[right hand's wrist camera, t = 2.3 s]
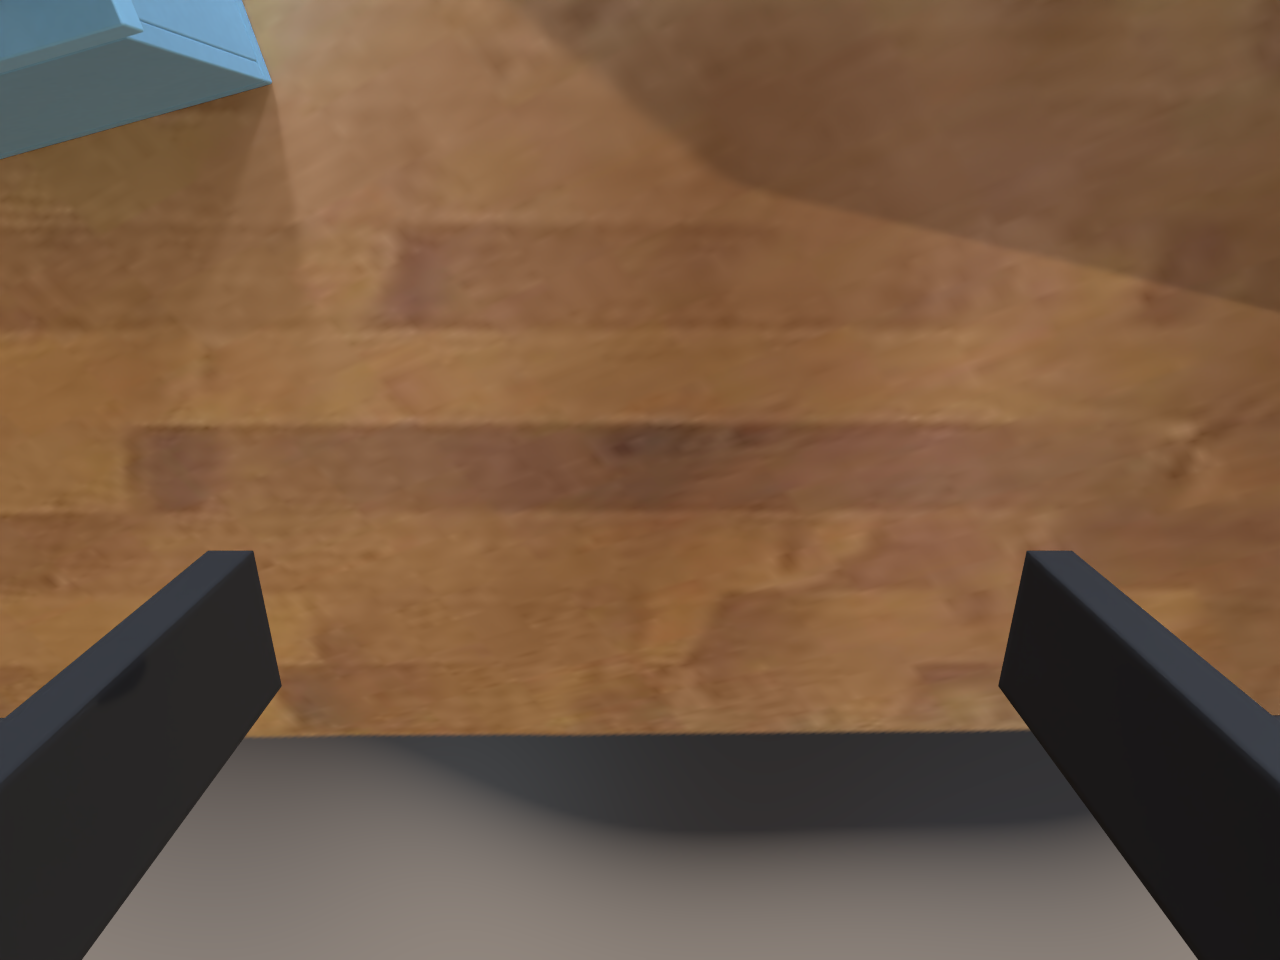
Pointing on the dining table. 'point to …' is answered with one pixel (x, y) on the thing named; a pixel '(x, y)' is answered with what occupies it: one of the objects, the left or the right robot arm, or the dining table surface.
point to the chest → (133, 74)
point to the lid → (60, 28)
